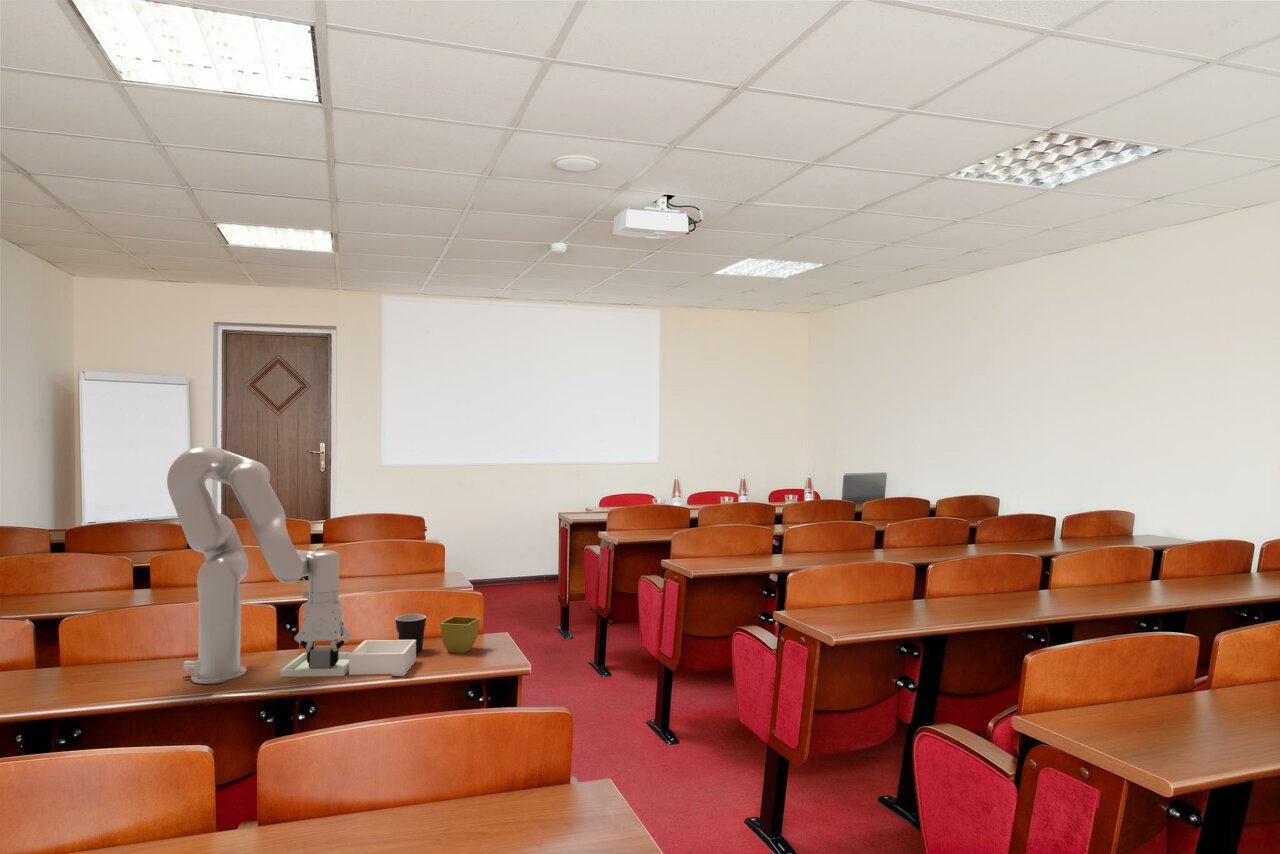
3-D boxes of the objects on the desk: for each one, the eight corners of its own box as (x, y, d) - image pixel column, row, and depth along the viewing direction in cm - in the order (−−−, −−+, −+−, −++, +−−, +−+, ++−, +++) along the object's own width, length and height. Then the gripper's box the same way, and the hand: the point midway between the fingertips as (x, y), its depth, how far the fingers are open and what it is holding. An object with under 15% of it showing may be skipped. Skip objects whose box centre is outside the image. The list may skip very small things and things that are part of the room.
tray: (280, 679, 198) (280, 670, 198) (303, 661, 214) (303, 652, 214) (343, 678, 199) (343, 669, 199) (361, 660, 215) (362, 652, 215)
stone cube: (309, 669, 204) (310, 650, 204) (316, 664, 209) (316, 645, 209) (329, 669, 204) (329, 650, 204) (335, 664, 209) (335, 645, 209)
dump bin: (348, 677, 200) (349, 654, 200) (364, 661, 214) (364, 640, 214) (403, 676, 201) (404, 653, 201) (415, 661, 215) (416, 639, 215)
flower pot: (467, 656, 220) (467, 624, 220) (439, 654, 222) (439, 622, 222) (479, 647, 229) (480, 617, 229) (452, 646, 231) (452, 616, 231)
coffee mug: (420, 656, 220) (421, 621, 220) (390, 656, 220) (391, 620, 220) (432, 645, 231) (432, 611, 232) (403, 645, 231) (404, 611, 232)
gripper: (285, 600, 202) (284, 669, 202) (351, 599, 203) (350, 669, 203) (296, 594, 210) (295, 661, 210) (360, 594, 211) (359, 660, 211)
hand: (322, 664), depth 206 cm, fingers closed on stone cube, 5 cm apart
